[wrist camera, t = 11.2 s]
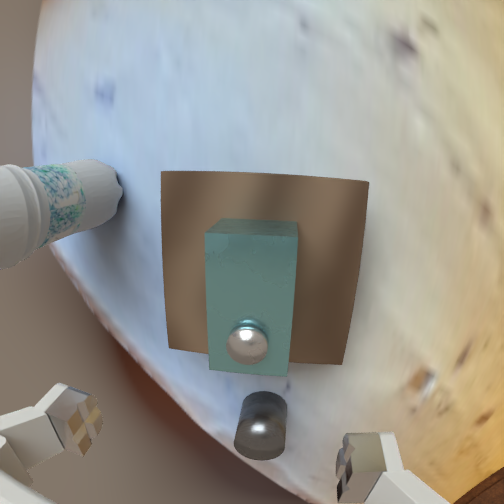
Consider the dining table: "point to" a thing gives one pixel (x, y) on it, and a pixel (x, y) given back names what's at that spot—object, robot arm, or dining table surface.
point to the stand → (308, 251)
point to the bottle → (52, 204)
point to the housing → (250, 294)
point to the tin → (261, 426)
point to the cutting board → (486, 491)
